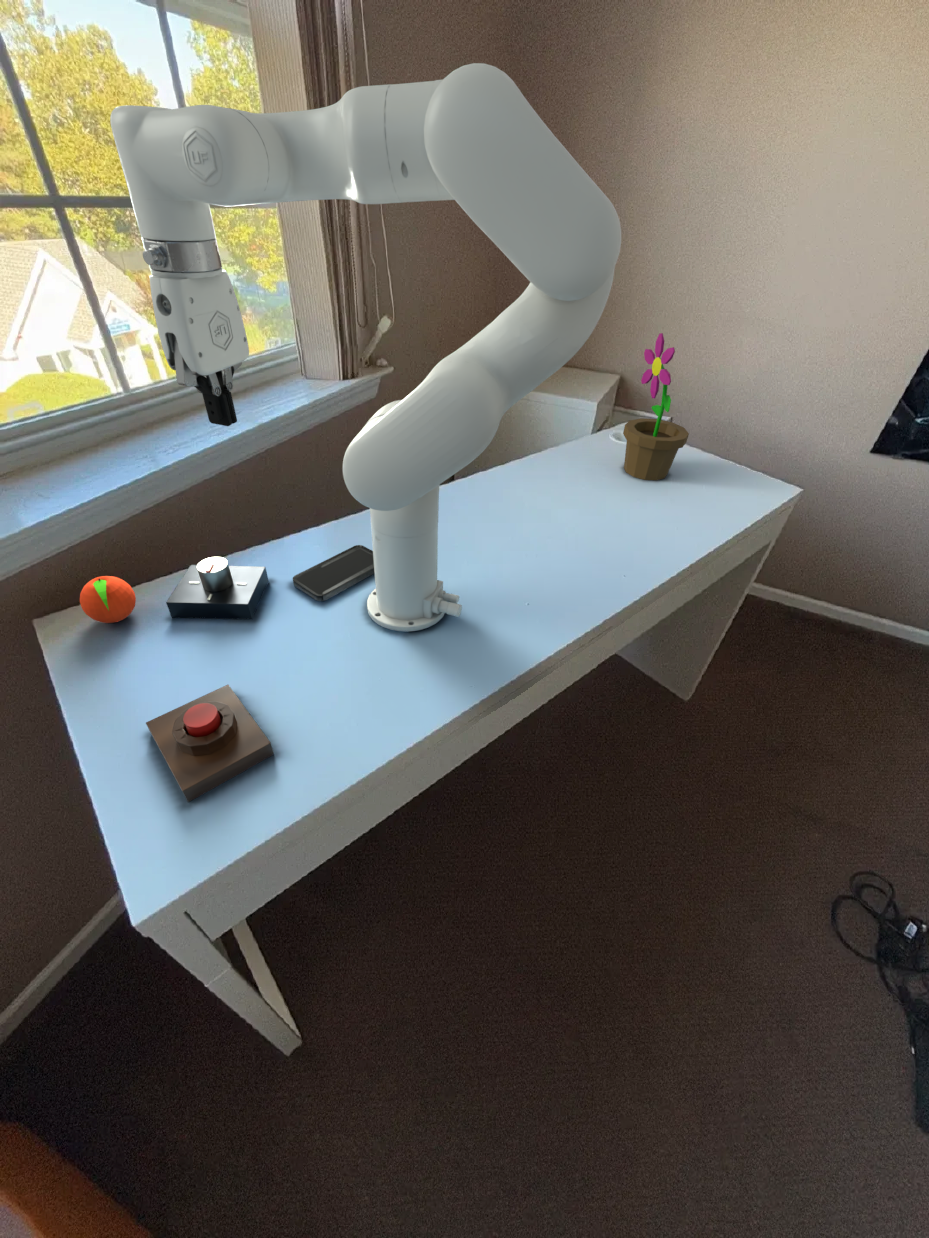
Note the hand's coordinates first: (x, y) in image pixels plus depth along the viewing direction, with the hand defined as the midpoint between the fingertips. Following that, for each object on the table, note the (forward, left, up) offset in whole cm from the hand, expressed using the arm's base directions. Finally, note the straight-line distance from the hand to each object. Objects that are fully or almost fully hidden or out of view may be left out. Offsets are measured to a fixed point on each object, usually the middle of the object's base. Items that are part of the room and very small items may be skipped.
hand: (223, 422), depth 72 cm
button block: (-13, +29, -27) cm, 42 cm away
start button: (-13, +29, -23) cm, 40 cm away
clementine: (+15, +15, -27) cm, 35 cm away
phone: (-10, -8, -27) cm, 30 cm away
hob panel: (+4, +5, -27) cm, 28 cm away
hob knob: (+4, +5, -24) cm, 25 cm away
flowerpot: (-56, -74, -27) cm, 97 cm away
